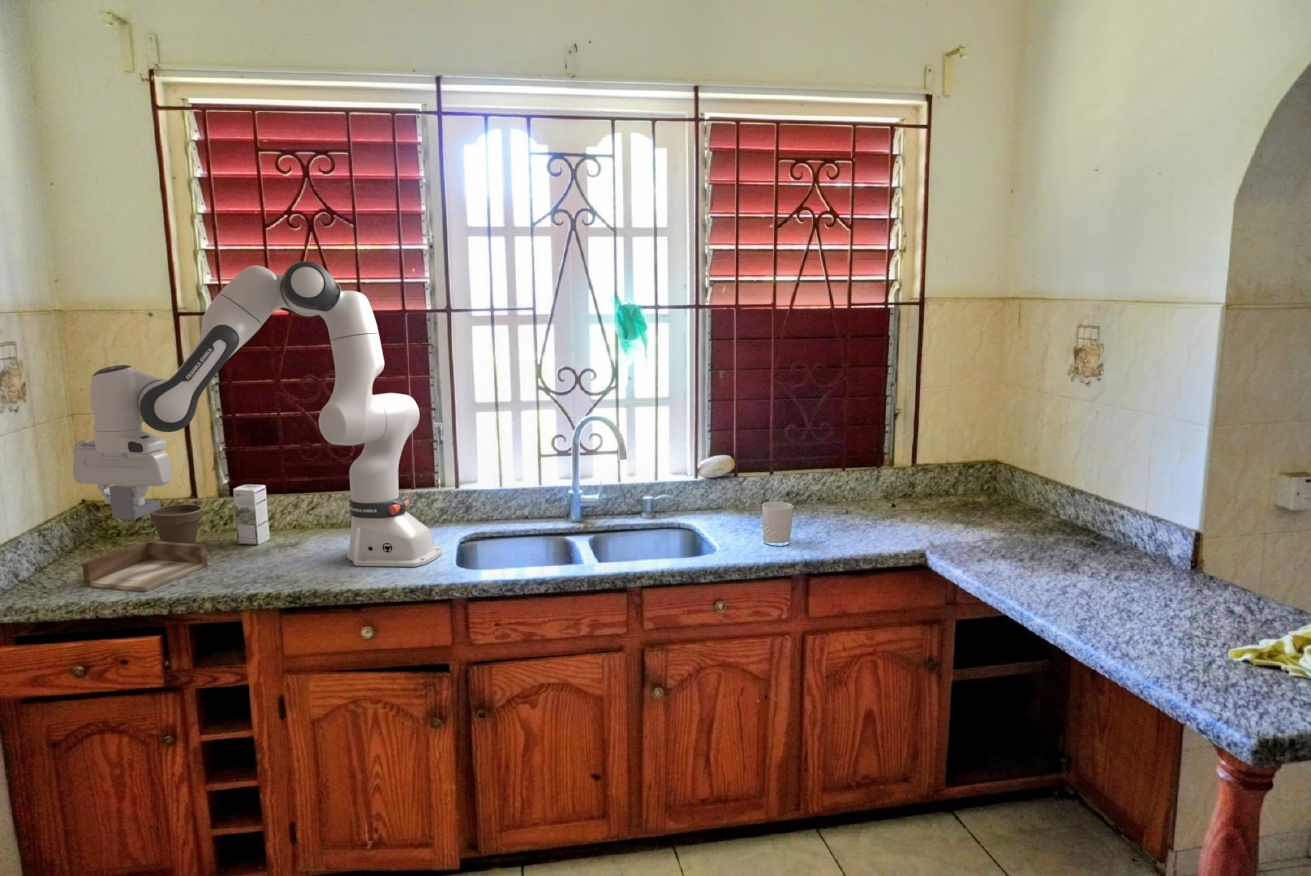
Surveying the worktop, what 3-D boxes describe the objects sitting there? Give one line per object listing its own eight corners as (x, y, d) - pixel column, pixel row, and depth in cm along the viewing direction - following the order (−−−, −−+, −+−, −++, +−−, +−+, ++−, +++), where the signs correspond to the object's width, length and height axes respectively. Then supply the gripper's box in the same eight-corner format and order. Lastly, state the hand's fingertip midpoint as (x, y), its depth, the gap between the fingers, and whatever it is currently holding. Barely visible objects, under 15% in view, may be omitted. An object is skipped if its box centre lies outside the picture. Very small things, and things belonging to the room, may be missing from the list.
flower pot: (209, 539, 222) (206, 501, 221) (202, 552, 212) (198, 512, 210) (159, 543, 219) (155, 504, 217) (148, 557, 208) (144, 516, 206)
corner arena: (207, 565, 202) (205, 544, 201) (147, 591, 185) (145, 569, 184) (149, 560, 206) (147, 540, 205) (84, 585, 188) (82, 563, 188)
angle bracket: (134, 519, 188) (131, 487, 187) (112, 518, 188) (109, 487, 187) (160, 508, 197) (158, 478, 195) (139, 507, 197) (136, 477, 196)
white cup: (796, 541, 224) (798, 504, 223) (784, 549, 218) (785, 510, 216) (769, 536, 229) (770, 500, 227) (755, 544, 222) (757, 506, 220)
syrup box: (270, 538, 224) (266, 484, 221) (258, 545, 218) (253, 489, 215) (249, 538, 224) (245, 483, 222) (236, 544, 218) (232, 488, 216)
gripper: (62, 442, 183) (68, 505, 186) (154, 445, 182) (160, 509, 185) (83, 437, 190) (89, 498, 192) (173, 440, 188) (178, 502, 191)
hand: (125, 504), depth 188 cm, fingers closed on angle bracket, 5 cm apart
